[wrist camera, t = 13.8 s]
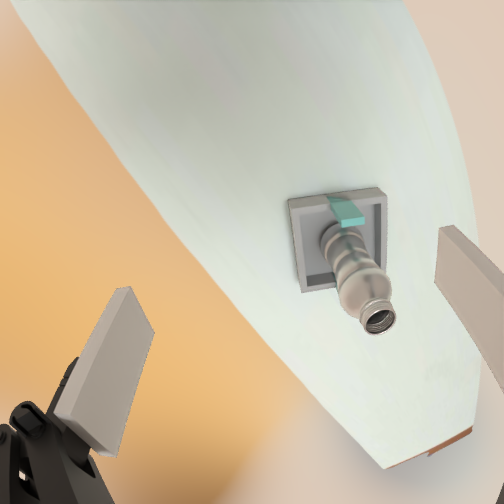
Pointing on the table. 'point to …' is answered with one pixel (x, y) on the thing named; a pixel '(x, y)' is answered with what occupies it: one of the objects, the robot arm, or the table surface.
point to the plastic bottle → (358, 279)
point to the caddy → (326, 215)
